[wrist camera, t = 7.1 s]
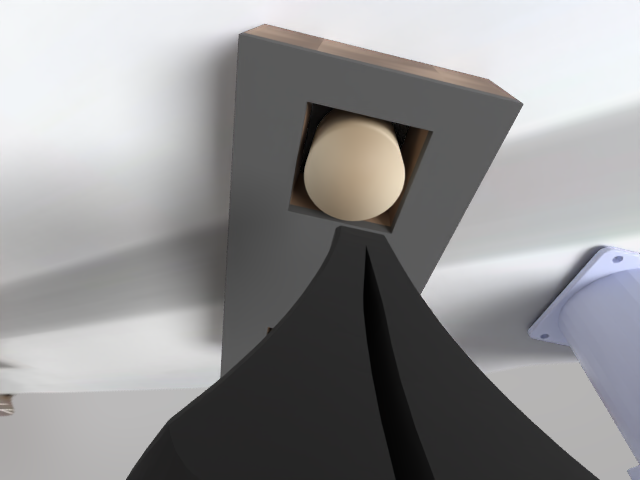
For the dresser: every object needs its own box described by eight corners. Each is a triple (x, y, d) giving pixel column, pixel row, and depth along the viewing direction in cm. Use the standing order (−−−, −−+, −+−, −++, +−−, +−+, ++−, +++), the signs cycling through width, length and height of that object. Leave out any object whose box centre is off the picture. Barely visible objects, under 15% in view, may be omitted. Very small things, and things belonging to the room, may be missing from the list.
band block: (488, 79, 15) (523, 104, 12) (360, 356, 28) (360, 405, 24) (265, 24, 15) (238, 34, 12) (236, 331, 27) (220, 377, 24)
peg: (408, 114, 16) (420, 143, 13) (381, 190, 18) (386, 229, 15) (322, 93, 15) (314, 117, 13) (306, 173, 18) (296, 209, 15)
